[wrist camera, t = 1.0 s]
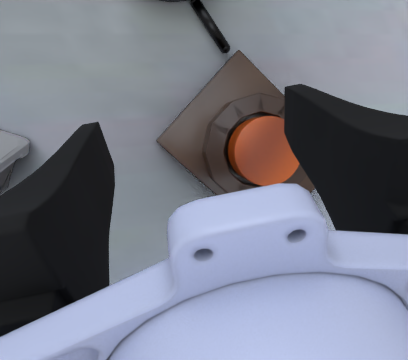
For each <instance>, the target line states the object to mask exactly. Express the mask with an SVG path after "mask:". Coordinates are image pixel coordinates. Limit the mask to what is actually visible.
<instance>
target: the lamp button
mask: <svg viewBox="0 0 408 360" xmlns="http://www.w3.org/2000/svg"><path fill="white" fill-rule="evenodd" d="M228 157H229V161H230V163H231V165H232V167H233V169H234V170H235V172H236V173H237V174H238V175H240V176H241V177H242V178H244V179H246V180H248V181H250V182H252V183H254V184H257V185H260V186H268V185H273V184H278V183H282V182H284V181H286V180H287V179H289V178H290V177H291V176H292V175H293V174H294V172H295V171H296V169H297V168H298V166H299V164H300V163H299V162H298V160H297V159H296V157H295V155H294V154H293V152H292V150H291V148H290V146H289V143H288V141H287V139H286V136H285V134H284V119H282V118H279V117H276V116H262V117H255V118H251V119H248V120H246V121H244V122H243V123H241V124H240V125H239V126H238V127H237V128H236V129H235V131H234V132H233V134H232V135H231V138H230V141H229V145H228Z"/></svg>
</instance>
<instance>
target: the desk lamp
mask: <svg viewBox="0 0 408 360" xmlns="http://www.w3.org/2000/svg"><path fill="white" fill-rule="evenodd" d="M161 1H167V2H179V1H186V0H161ZM190 3H191V5H192V7H193V9H194V10H195V12H196V13H197V15H198V16H199V18H200V19H201V21H202V22H203V24H204V25H205V27H206V28H207V30H208V31H209V33H210V34H211V36H212V38H213V39H214V41H215V42H216V44H217V45H218V47H219V48H220V50H221V51H222V52H223V53H227V52H229V50H230V46H229V44H228V43H227V41H226V39H225V38H224V36H223V35H222V33H221V32H220V30H219V29H218V27H217V26H216V24H215V22H214V21H213V19H212V18H211V16H210V15H209V13H208V12H207V10H206V9H205V7H204V5H203V4H202V2H201V1H200V0H191V1H190Z"/></svg>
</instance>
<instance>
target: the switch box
mask: <svg viewBox="0 0 408 360" xmlns="http://www.w3.org/2000/svg"><path fill="white" fill-rule="evenodd" d="M284 103H285V96H284V95H283V94H282V93H281V92H280V91H279V90H278V89H277V88H276V87H275V86H274V85H273V84H272V83H271V82H270V81H269V80H268V79H267V78H266V77H265V76H264V75H263V74H262V73H261V72H260V71H259V70H258V69H257V68H256V67H255V66H254V65H253V64H252V63H251V61H250V60H249V59H248V58H247V57H246V56H245V55H244V54H243V53H242V52H241V51H240V50H238V51H237V52H236V53H235V54H234V55H233V56H232V57H231V58H230V59H229V60H228V61H227V62H226V63H225V64H224V66H223V67H222V68H221V69H220V70H219V71H218V72H217V73H216V74H215V76H214V77H213V78H212V79H211V80H210V81H209V82H208V83H207V84H206V86H205V87H204V88H203V89H202V90H201V91H200V92H199V93H198V94H197V96H196V97H195V98H194V99H193V100H192V101H191V102H190V103H189V104H188V105H187V107H186V108H185V109H184V110H183V111H182V112H181V113H180V114H179V115H178V117H177V118H176V119H175V120H174V121H173V122H172V123H171V124H170V125H169V127H168V128H167V129H166V130H165V131H164V132H163V133H162V134H161V135H160V137H159V138H158V139H157V140H156V141H157V142H158V143H159V144H160V145H161V146H162V147H163V148H164V149H166V150H167V151H168V152H169V153H170V154H171V155H172V156H173V157H174V158H176V159H177V160H178V161H179V162H180V163H181V164H182V165H183V166H184V167H186V168H187V169H188V170H189V171H190V172H191V173H192V174H193V175H195V176H196V177H197V178H198V179H199V180H200V181H201V182H202V183H203V184H205V185H206V186H207V187H208V188H209V189H210V190H211V191H212V192H213V193H215V194H216V195H222V194H227V193H232V192H237V191H242V190H247V189H252V188H258V187H263V186H260V185H257V184H254V183H252V182H250V181H248V180H246V179H244V178H242V177H241V176H240V175H238V174H237V173H236V172H235V170H234V169H233V167H232V165H231V163H230V161H229V157H228V145H229V141H230V138H231V135H232V134H233V132H234V131H235V129H236V128H237V127H238V126H239V125H240V124H241V123H243V122H244V121H246V120H248V119H251V118H255V117H262V116H276V117H279V118H282V119H284ZM282 183H284V184H298V185H299V186H301V187H303V188H304V189H306V190H308V191H309V192H310V193H311V192H312V191H313V190H314V188H315V187H314V185H313V184H312V182H311V181H310V179H309V177H308V176H307V174H306V173H305V171H304V170H303V168H302V167H301V165H300V164H299V166H298V168H297V169H296V171H295V172H294V174H293V175H292V176H291V177H290V178H289V179H287V180H286V181H284V182H282Z"/></svg>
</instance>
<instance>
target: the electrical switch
mask: <svg viewBox="0 0 408 360" xmlns="http://www.w3.org/2000/svg"><path fill="white" fill-rule="evenodd" d="M29 145H30V142H29V140H27V139H26V138H24V137H22V136H18V135H15V134H12V133H9V132H6V131H3V130H0V193H1V192H2V191H3V190H5V189H6V188H7V187H8V185H9V179H10V173H12V170H13V166H14V161H16V160H17V159H18V158H21V159H22V158H23V157H25V156H26V155H27V154H29Z"/></svg>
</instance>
